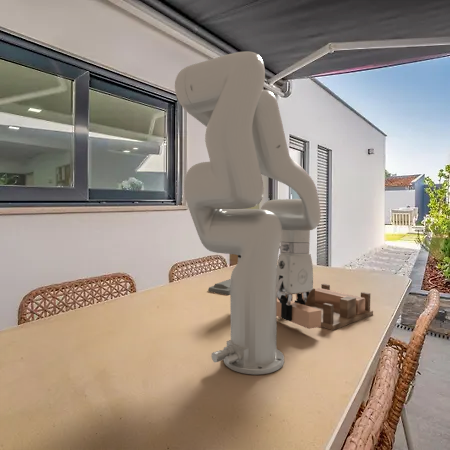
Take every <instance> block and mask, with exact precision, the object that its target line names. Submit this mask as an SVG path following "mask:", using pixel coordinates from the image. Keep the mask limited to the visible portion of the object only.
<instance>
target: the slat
mask: <svg viewBox="0 0 450 450" xmlns="http://www.w3.org/2000/svg"><path fill="white" fill-rule="evenodd" d="M290 305H292V320H291V321H289V322H291V323H293V324H296V325H297V326H301V327H303V328H306V329H314V328H320V327H322V326H321V310H318V309H315V308H312V307H309V306H306V305H303V304H300V303H296V302H295V301H293V300H292V301H291V304H290ZM277 317H278V318H280V319H282V318H281V303H280V301H279V300H278V298H277Z"/></svg>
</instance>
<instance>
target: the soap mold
mask: <svg viewBox="0 0 450 450" xmlns="http://www.w3.org/2000/svg"><path fill="white" fill-rule="evenodd" d="M230 279H231V278H230ZM230 279H229V278H228V279H227V280H223V281H220V282H217V283H214V285H212V286H209V287H208V290H207V292H208V291H209V292H210V293H214V292H215V293H214V294H220V293H221V294H220V295H225V294H226V296H230Z"/></svg>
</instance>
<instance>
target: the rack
mask: <svg viewBox="0 0 450 450" xmlns="http://www.w3.org/2000/svg"><path fill="white" fill-rule="evenodd" d="M330 288H331V286H330V284H328V283H322V284H321V287H318V288H314V287H313V289H312V290H311V291H310V293H309V295H308V297H307V301H306V302H305V305H306V306H309V307H312V308H315V309H318V310H321V327H322V328H325V329H328V330H331V331H335V330H337V329H340V328H342V327H345V326H347V325H350V324H352V323H355V322H358V321H360V320H363V319H366V318H368V317H370V316H373V315H374V311H373V310H372V309H371V293H369V292H365V291H362V292H360V296H357V295H354V294H349V293H344V292H339V291H336V290H331V289H330ZM285 297H286V298H287V295H286V294H285ZM291 301H293V297H292V298H291Z"/></svg>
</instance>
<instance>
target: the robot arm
mask: <svg viewBox="0 0 450 450" xmlns="http://www.w3.org/2000/svg"><path fill="white" fill-rule="evenodd" d="M265 79H266V69H265V64H264V61H263V59H262V57H261V56H260V54H258V53H257V52H253V51H238V52H233V53H228V54H225V55H224V54H223V55H221V56H217V57H214V58H211V59H207V60H205V61H200V62H196V63H194V64H190V65H188V66H185V67H184V68H182V69H181V70H180V71H179V72H178V73H177V75H176V77H175V81H174V91H175V96H176V98H177V101H178V103H179V104H180V106H181V107H182V109H184V110H185V112H187V113H188V114H189V115H190V116H192V117H193V118H194V119H196V120H197V121H198V122H200V123H201V125H204V126H205V127H206V128H205V129H206V130H205V135H204V136H205V137H204V141H205V147H206V150H207V154H208V158H209V161H203V162H198V163H196V164H193V165H192V166H191V167H190V168H189V169H188V170H187V171H186V173H185V176H184V179H183V193H184V198H185V202H186V204H187V208H188V211H189V213H190V216H191V219H192V223H193V225H194V227H195V230H196V234H197V235H198V238H199V240H200V242H201V244H202V245H203V247H204V248H205V249H206V250H208V251H209V252H212V253H217V254H227V255H237V256H238V255H241V258H240V260H239V262H238V261H237V263H236V265H235V267H234V268H233V269H232V271H231V275H230V295H229V296H230V301H229V303H230V340H229V339H228V340H227V341H226V346H225V347H223V349H221V350H220V349H219V350H216V351H213V352H212V353H211V356H210V357H211V359H212V362H213V363H219V362H222V361H223V363H224V365H225V366H226V367H227V368H229V369H231V370H232V371H234V372H238V373H240V374H247V375H253V376H254V375H255V376H256V375H265V374H267V375H268V374H271V373H273V372H276V371H279V369H282V367H283V366H284V363H285V356H284V353H283V352H281V350H279V349H278V348H277V334H278V333H277V329H278V328H277V323H278V322H277V317H278V316H277V298H278V300H279V301H280V303H281V318H280V319H283V320H285V321H288V322H290V321H291V320H292V305H290V304H291V298H292V299H293V295H295V299H296V300H294V302H296V303H300V304H303V305H305V302H306V301H307V297H308V295H309V293H310V291H311V290H312V289H313V288H314V271H313V269H314V268H313V260H312V254H310V247H311V246H310V242H311V241H310V240H311V231H313V230H315V229H316V228H317V227H318V225H319V224H320V222H321V214H322V213H321V205H320V201H319V200H320V199H319V194H318V189H317V186H316V184H315V181H314V180H313V178H312V177H311V176H310V174H309V173H308V171H306V170H305V169H304V167H302V166H301V165H300V164H299V163H298V162H296V161H295V160H293V158H292V157H291V156H290V154H289V149H288V144H287V139H286V135H285V131H284V126H283V121H282V116H281V112H280V107H279V104H278V99H277V98H276V95H274V93H273V92H272V91H270V90H267V89H264V87H265V86H264V85H265ZM263 176H264V177H267V178H269V179H271V180H274V181H277V182H280V183H281V184H283V185H286V186H287V187H289V188H291V189H292V190H293V191H294V192H295V193H296V194H297V195H298V197H299V198H283V199H281V198H280V199H279V198H277V199H271V200H266V201H265V202H264V203H263V204H262V206H261V207H260V209H259V208H254V207H257V206H258V205H259V204H260V203H261V202H262V201H263V199H264V193H265V188H264V181H263ZM279 251H280V252H279ZM279 253H280V254H279ZM285 294H286V295H287V298H286V297H285Z"/></svg>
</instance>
